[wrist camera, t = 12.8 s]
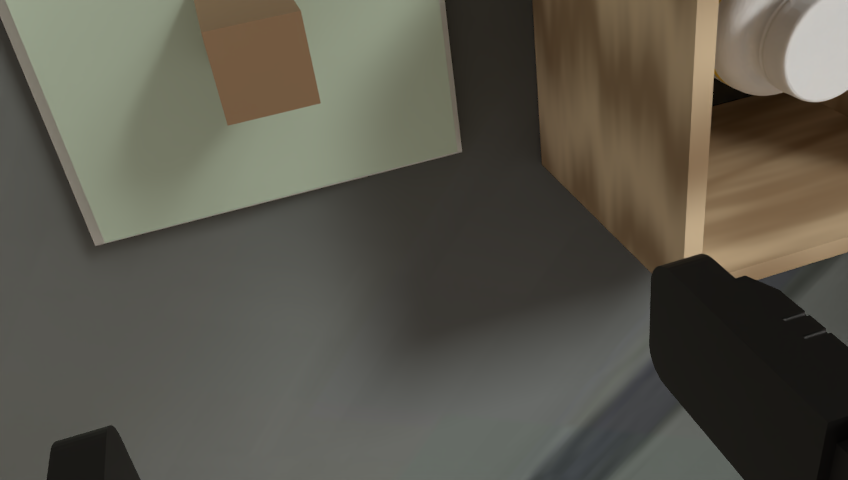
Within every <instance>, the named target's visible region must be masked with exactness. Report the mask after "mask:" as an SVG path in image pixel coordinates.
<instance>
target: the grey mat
mask: <svg viewBox="0 0 848 480" xmlns="http://www.w3.org/2000/svg"><path fill="white" fill-rule="evenodd" d="M439 4H440V12H441V20H442V28H443V37H444V45H445V53H446V61H447V69H448V77H449V86H450V94H451V102H452V110H453V118H454V126H455V134H456V143H457V151H458V152H454V153H450V154H446V155H442V156H439V157H435V158H431V159H427V160H423V161H419V162H415V163H412V164H408V165H404V166H400V167H396V168H392V169H388V170H385V171H381V172H377V173H373V174H369V175H365V176H361V177H358V178H354V179H350V180H346V181H342V182H338V183H334V184H331V185H335V184H339V183H343V182H347V181H351V180H355V179H359V178H363V177H367V176H370V175H374V174H378V173H382V172H386V171H390V170H394V169H398V168H402V167H406V166H409V165H413V164H417V163H421V162H425V161H429V160H433V159H437V158H441V157H445V156H448V155H452V154H456V153H460V152H462V146H461V137H460V128H459V120H458V111H457V102H456V94H455V85H454V76H453V68H452V59H451V51H450V42H449V33H448V25H447V16H446V7H445V0H439ZM0 17H1V20H2V22H3V25H4V27H5V29H6V32H7V34H8V37H9V39H10V41H11V44H12V46H13V49H14V51H15V53H16V56H17V58H18V61H19V63H20V65H21V68H22V70H23V73H24V75H25V78H26V80H27V82H28V85H29V87H30V90H31V92H32V94H33V97H34V99H35V102H36V104H37V106H38V109H39V111H40V114H41V116H42V119H43V121H44V123H45V126H46V128H47V131H48V133H49V135H50V138H51V140H52V143H53V145H54V147H55V150H56V152H57V155H58V157H59V159H60V162H61V164H62V167H63V169H64V172H65V174H66V176H67V179H68V181H69V184H70V186H71V188H72V191H73V193H74V196H75V198H76V200H77V203H78V205H79V208H80V210H81V212H82V215H83V217H84V220H85V222H86V225H87V227H88V229H89V232H90V234H91V237H92V239H93V241H94V244H95V246H97V245H101V244H105V242H104V239H103V237H102V234H101V232H100V230H99V227H98V225H97V222H96V220H95V217H94V215H93V213H92V210H91V208H90V205H89V203H88V200H87V198H86V195H85V193H84V191H83V188H82V186H81V183H80V181H79V178H78V176H77V174H76V171H75V169H74V166H73V164H72V161H71V159H70V157H69V154H68V152H67V149H66V147H65V144H64V142H63V139H62V137H61V135H60V132H59V130H58V127H57V125H56V122H55V120H54V118H53V115H52V113H51V110H50V108H49V105H48V103H47V101H46V98H45V96H44V93H43V91H42V88H41V86H40V83H39V81H38V79H37V76H36V74H35V71H34V69H33V66H32V64H31V62H30V59H29V57H28V54H27V52H26V49H25V47H24V44H23V42H22V40H21V37H20V35H19V32H18V30H17V27H16V25H15V23H14V20H13V18H12V15H11V13H10V10H9V8H8V6H7V3H6V1H5V0H0ZM331 185H327V186H323V187H319V188H315V189H311V190H307V191H303V192H300V193H304V192H308V191H312V190H316V189H320V188H324V187H328V186H331ZM300 193H296V194H300ZM296 194H292V195H296ZM292 195H288V196H284V197H280V198H276V199H273V200H277V199H281V198H285V197H289V196H292ZM273 200H269V201H273ZM269 201H265V202H269ZM265 202H261V203H265ZM261 203H257V204H261ZM257 204H253V205H257ZM253 205H249V206H246V207H250V206H253ZM246 207H242V208H246ZM242 208H238V209H242ZM238 209H234V210H238ZM234 210H230V211H234ZM230 211H226V212H230ZM226 212H222V213H226ZM222 213H219V214H222ZM215 215H218V214H215ZM211 216H214V215H211ZM211 216H207V217H211ZM207 217H203V218H207ZM203 218H199V219H203ZM199 219H195V220H199ZM195 220H192V221H195ZM188 222H191V221H188ZM184 223H187V222H184ZM180 224H183V223H180ZM176 225H179V224H176ZM172 226H175V225H172ZM172 226H168V227H172ZM168 227H165V228H168ZM161 229H164V228H161ZM157 230H160V229H157ZM153 231H156V230H153ZM149 232H152V231H149ZM145 233H148V232H145ZM141 234H144V233H141ZM138 235H140V234H138ZM134 236H136V235H134ZM130 237H133V236H130ZM126 238H129V237H126ZM122 239H125V238H122ZM118 240H121V239H118ZM114 241H117V240H114ZM110 242H113V241H110ZM107 243H109V242H107Z"/></svg>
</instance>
